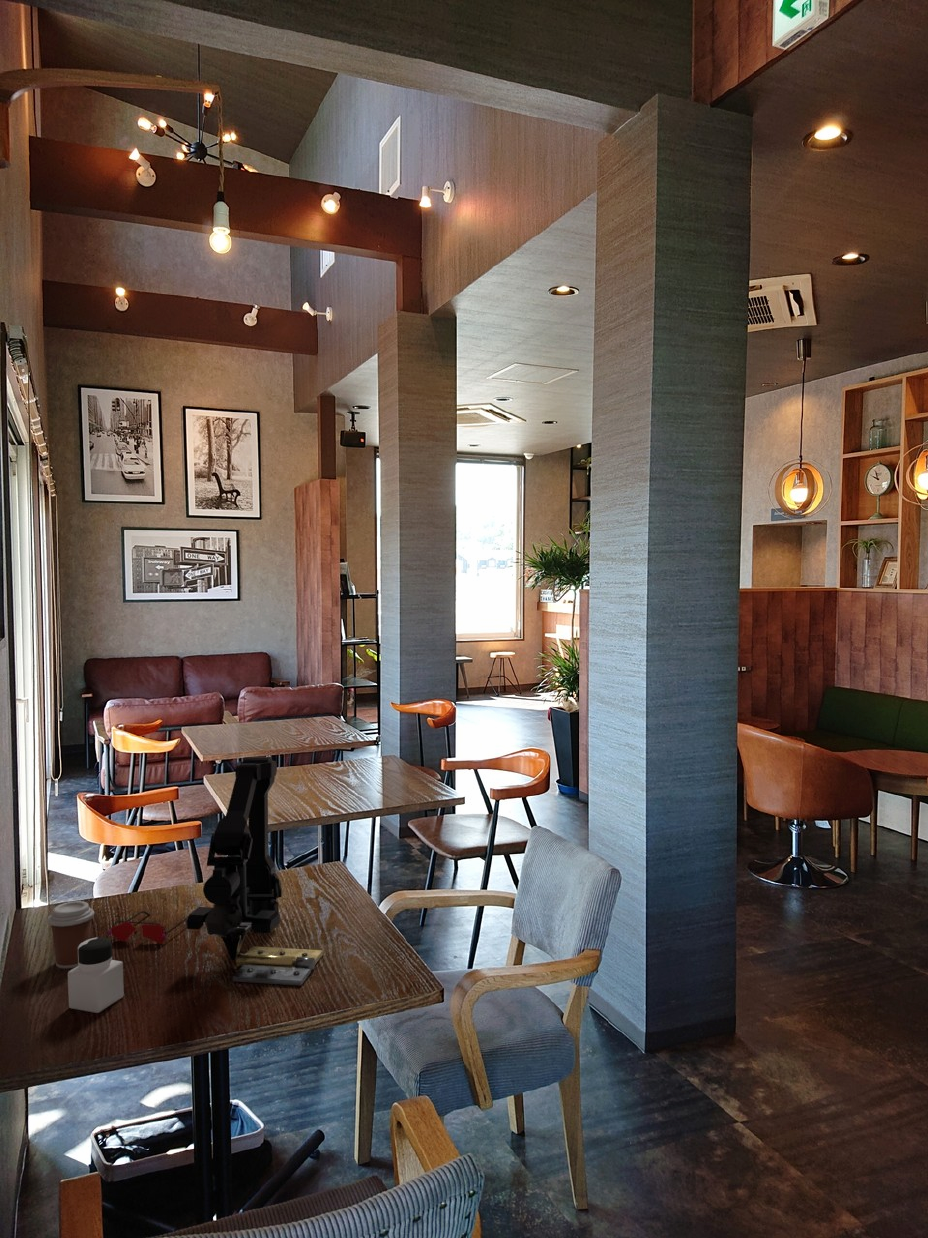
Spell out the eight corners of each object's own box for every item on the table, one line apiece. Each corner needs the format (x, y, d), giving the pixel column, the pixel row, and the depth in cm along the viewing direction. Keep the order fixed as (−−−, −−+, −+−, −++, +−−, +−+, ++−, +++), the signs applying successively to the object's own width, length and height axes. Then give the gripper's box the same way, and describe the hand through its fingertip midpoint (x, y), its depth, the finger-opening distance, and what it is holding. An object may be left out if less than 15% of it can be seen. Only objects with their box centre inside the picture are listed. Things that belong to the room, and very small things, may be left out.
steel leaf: (232, 981, 174) (232, 969, 174) (249, 963, 182) (249, 952, 182) (300, 985, 171) (300, 974, 171) (315, 967, 180) (315, 956, 179)
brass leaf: (236, 967, 180) (236, 956, 180) (252, 951, 188) (252, 940, 188) (309, 972, 177) (308, 960, 177) (322, 955, 186) (322, 944, 185)
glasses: (108, 943, 195) (107, 921, 195) (148, 916, 211) (148, 896, 211) (164, 947, 192) (164, 925, 192) (201, 919, 208) (200, 899, 208)
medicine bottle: (124, 996, 168) (122, 936, 168) (98, 1014, 161) (96, 951, 161) (95, 991, 171) (93, 932, 170) (68, 1008, 164) (65, 946, 163)
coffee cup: (86, 949, 191) (84, 896, 190) (102, 961, 184) (100, 906, 184) (42, 962, 185) (40, 907, 184) (58, 975, 178) (56, 918, 178)
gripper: (171, 898, 174) (173, 974, 175) (258, 903, 171) (260, 980, 172) (198, 879, 185) (200, 951, 186) (280, 883, 182) (281, 956, 183)
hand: (234, 959), depth 181 cm, fingers closed
